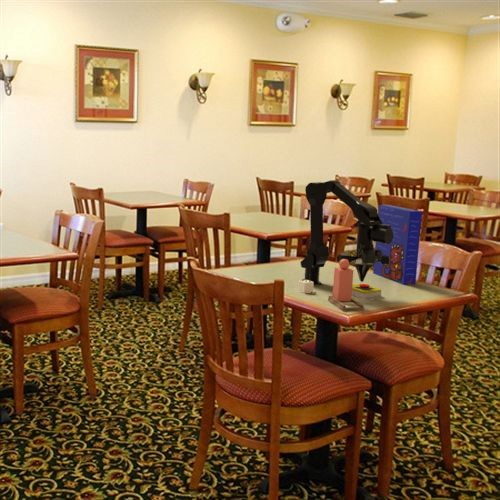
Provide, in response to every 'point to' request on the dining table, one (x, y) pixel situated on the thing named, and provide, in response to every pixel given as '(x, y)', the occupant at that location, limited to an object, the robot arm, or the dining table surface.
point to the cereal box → (400, 244)
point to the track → (346, 304)
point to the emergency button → (366, 291)
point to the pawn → (343, 281)
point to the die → (305, 286)
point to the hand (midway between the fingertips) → (361, 281)
